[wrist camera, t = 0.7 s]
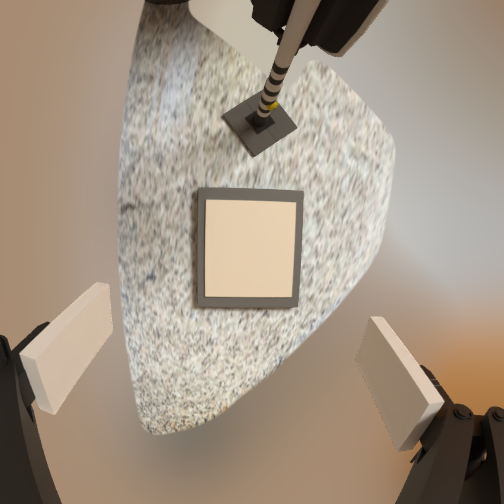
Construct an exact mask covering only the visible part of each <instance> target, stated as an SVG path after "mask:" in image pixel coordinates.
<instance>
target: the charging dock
mask: <svg viewBox="0 0 504 504" xmlns="http://www.w3.org/2000/svg"><path fill="white" fill-rule="evenodd" d="M303 199H304V191H294V190H275V189H249V188H199V189H198V235H197V288H198V307H236V308H283V307H298V299H299V284H300V268H301V249H302V227H303Z"/></svg>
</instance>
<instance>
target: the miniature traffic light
mask: <svg viewBox="0 0 504 504" xmlns="http://www.w3.org/2000/svg"><path fill="white" fill-rule="evenodd" d="M388 1H389V0H251V2H252V4H253V12H252V18H253V19H254V20H255V21H256V22H257V23H259V24H260V25H262V26H263V27H265V28H266V29H268V30H269V31H271V32H272V31H273V32H274V34H275V35H276V36H277V37H278V38H279V39H278V42H277V45H279V48H278V51H277V54H276V57H275V60H274V63H273V66H272V69H271V72H270V75H269V77H268V78H267V80H266V83H265V86H264V89H263V90H262V91H260V92H258V93H257V94H255V95H253V96H252V97H250V98H248V99H247V100H245V101H244V102H242V103H241V104H239V105H237V106H236V107H234V108H233V109H231V110H230V111H228V112H226V113H225V114H223V116H224V118H225V119H226V120H227V121H228V123H229V124H230V125H231V126H232V128H233V129H234V130H235V132H236V133H237V134H238V135H239V137H240V138H241V139H242V141H243V142H244V143H245V145H246V146H247V147H248V148H249V150H250V151H251V152H252V154H253V155H254V156H256V155H258V154H259V153H260V152H262V151H263V150H265V149H266V148H268V147H269V146H271V145H272V144H274V143H275V142H277V141H278V140H280V139H281V138H283V137H284V136H286V135H287V134H289V133H290V132H292V131H293V130H295V129H297V126H296V125H295V124H294V122H293V121H292V120H291V118H290V117H289V116H288V115H287V113H286V112H285V111H284V109H283V108H281V106H280V104H279V103H278V102H277V101H276V99H277V97H278V95H279V92H280V90H281V88H282V86H283V80H284V78H285V75H286V73H287V71H288V69H289V67H290V64H291V62H292V60H293V58H294V56H296V54H297V53H298V50H299V49H300V48H302V47H304V46H306V45H307V44H309V45H310V46H316V45H317V46H318V47H319V48H320V49H322V50H323V51H325V52H326V53H327V54H330V55H332V56H334V57H342V56H343V55H344V54H345V53H346V52H347V51H348V50H349V49H350V48H351V47H352V45H354V43H355V42H356V41H357V40H358V39H359V38H360V37H361V36H362V35H363V34H364V33H365V31H366V30H367V29H368V27H369V26H370V25H371V24H372V22H373V21H374V19H375V18H376V17H377V16H378V14H379V13H380V12H381V10H382V9H383V8H384V7H385V5H386V4H387V3H388ZM283 26H286V28H285V31H284V30H283V29H282V27H283Z"/></svg>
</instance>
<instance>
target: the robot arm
mask: <svg viewBox="0 0 504 504" xmlns="http://www.w3.org/2000/svg"><path fill="white" fill-rule="evenodd" d="M146 1H148V2H152V3H157V4H173V3H180V2H185V1H189V0H146ZM112 332H113V327H112V316H111V304H110V287H109V284H105V283H100V282H96V283H95V284H93V285H92V286H91V287H90V288H89V289H88V290H86V291H85V292H84V293H83V294H82V295H81V296H80V297H79V298H77V299H76V300H75V301H74V302H73V303H72V304H71V305H70V306H69V307H67V308H66V309H65V310H64V311H63V312H62V313H61V314H60V315H59V316H58V317H57V318H55V319H54V320H53V321H52V322H51V323H50V322H46V323H43V324H41V325H39V326H37V327H36V328H35V329H34V330H33V331H32V332H31V333H30V334H29V335H28V336H27V337H26V338H25V339H24V340H22V341H21V342H20V343H19V344H18V345H17V346H16V347H15V348H14V349H13V350H12V351H11V349H10V346H9V343H8V340H7V338H6V337H5V336H3V335H0V504H62V503H61V501H60V498H59V495H58V493H57V490H56V488H55V485H54V482H53V479H52V477H51V474H50V471H49V468H48V465H47V462H46V458H45V455H44V451H43V448H42V444H41V440H40V437H39V433H38V429H37V425H36V420H35V415H34V410H33V408H32V406H31V404H32V402H33V401H34V400H35V399H36V401H37V404H38V406H39V408H40V409H41V410H44V411H46V412H48V413H51V414H53V415H55V414H56V412H57V411H58V409H59V408H60V406H61V405H62V403H63V402H64V400H65V399H66V397H67V396H68V394H69V393H70V391H71V390H72V388H73V387H74V385H75V384H76V382H77V381H78V379H79V378H80V377H81V375H82V374H83V372H84V371H85V369H86V368H87V366H88V365H89V364H90V362H91V361H92V359H93V358H94V356H95V355H96V354H97V352H98V351H99V350H100V348H101V347H102V345H103V344H104V343H105V341H106V340H107V338H108V337H109V336H110V334H111V333H112ZM355 361H356V363H357V365H358V367H359V369H360V371H361V373H362V375H363V378H364V380H365V382H366V384H367V386H368V388H369V390H370V392H371V395H372V397H373V399H374V401H375V403H376V406H377V408H378V410H379V412H380V414H381V417H382V419H383V421H384V423H385V426H386V428H387V430H388V432H389V435H390V437H391V439H392V441H393V444H394V446H395V449H396V451H397V452H400V451H406V450H411V449H413V448H414V446H415V445H416V444H417V442H418V441H419V440H420V442H421V444H422V447H421V449H420V450H419V451H418V452H417V454H416V455H415V456H414V458H413V459H412V460H411V461H410V463H412V462H413V461H414V460H415V461H414V464H413V466H412V469H411V471H410V473H409V475H408V478H407V480H406V482H405V484H404V487H403V489H402V491H401V493H400V495H399V497H398V499H397V501H396V503H395V504H504V409H502V408H500V407H491V408H489V409H488V411H487V412H486V414H485V415H484V416H482V415H474V414H473V412H472V411H471V410H470V409H469V408H468V407H466V406H464V405H462V404H454V403H453V402H452V401H451V399H450V398H449V396H448V395H447V394H446V392H445V391H444V389H443V388H442V386H440V384H439V382H438V381H437V380H436V378H435V377H434V375H433V374H432V373H431V371H429V370H428V369H427V368H425V367H424V366H423V365H419V364H418V363H417V362H416V360H415V359H414V358H413V356H412V355H411V354H410V352H409V351H408V349H407V348H406V347H405V345H404V344H403V343H402V341H401V340H400V339H399V338H398V337H397V335H396V334H395V332H394V331H393V330H392V328H391V327H390V326H389V325H388V323H387V322H386V321H385V319H384V318H383V317H374V316H370V318H369V321H368V324H367V327H366V330H365V334H364V336H363V339H362V342H361V345H360V348H359V350H358V353H357V356H356V359H355ZM486 452H487V456H486V460H485V459H484V455H485V453H486Z"/></svg>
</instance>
